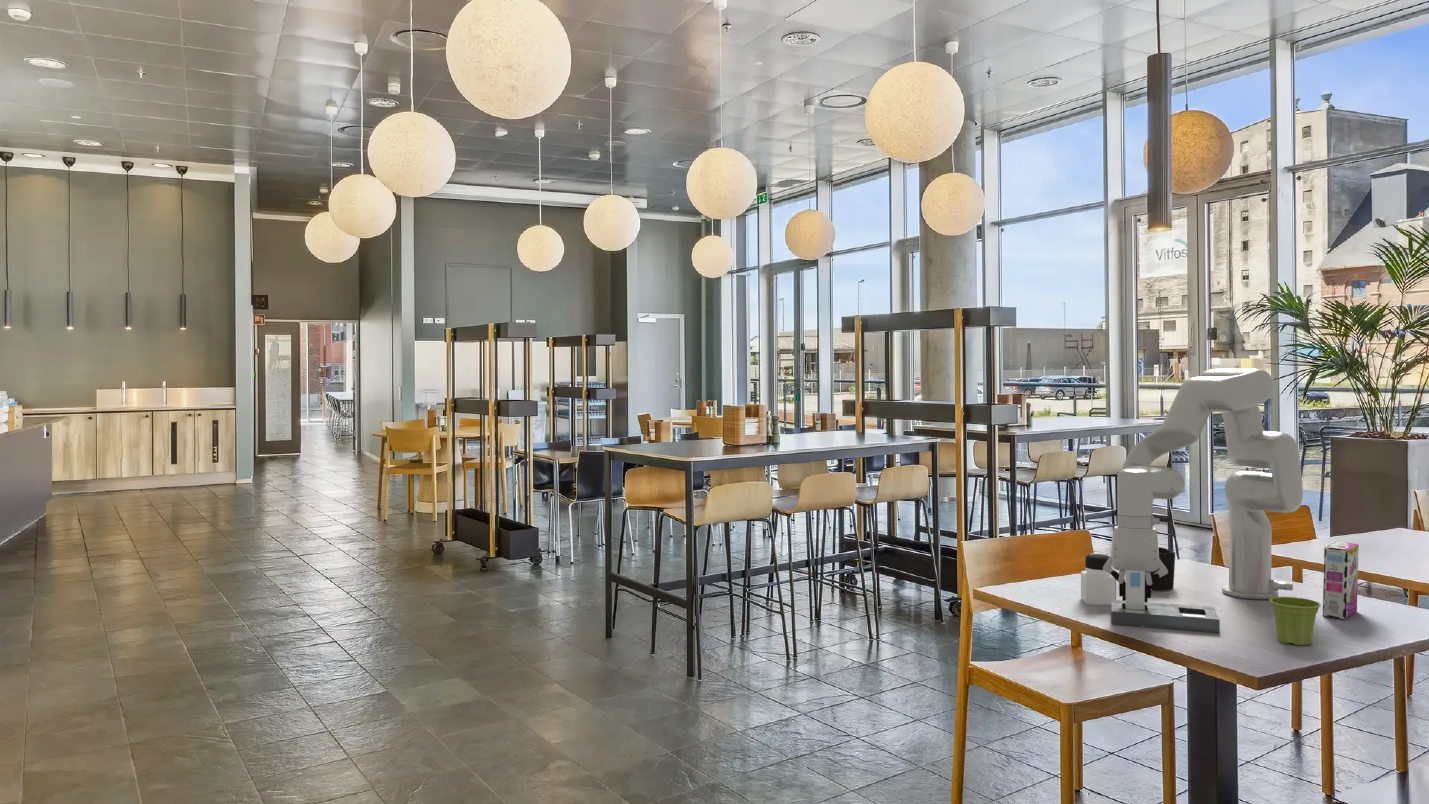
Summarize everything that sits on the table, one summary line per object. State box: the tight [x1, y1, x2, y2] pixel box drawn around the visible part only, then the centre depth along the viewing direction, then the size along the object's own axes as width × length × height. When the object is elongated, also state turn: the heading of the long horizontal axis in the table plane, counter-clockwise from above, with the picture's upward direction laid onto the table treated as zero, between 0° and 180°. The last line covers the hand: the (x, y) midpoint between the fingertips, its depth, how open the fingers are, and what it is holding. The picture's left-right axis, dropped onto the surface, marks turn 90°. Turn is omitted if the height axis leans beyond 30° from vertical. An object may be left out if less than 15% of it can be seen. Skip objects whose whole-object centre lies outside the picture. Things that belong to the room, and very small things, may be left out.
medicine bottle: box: [1080, 553, 1117, 607], centre depth 240 cm, size 7×7×12 cm
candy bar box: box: [1322, 541, 1360, 620], centre depth 225 cm, size 11×5×16 cm, turn 134°
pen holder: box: [1145, 546, 1176, 591], centre depth 255 cm, size 9×9×10 cm
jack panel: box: [1110, 599, 1221, 634], centre depth 221 cm, size 22×12×3 cm, turn 68°
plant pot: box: [1268, 596, 1322, 646], centre depth 204 cm, size 9×9×9 cm
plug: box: [1124, 570, 1145, 610], centre depth 223 cm, size 4×5×11 cm
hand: (1134, 599), depth 223 cm, fingers closed on plug, 4 cm apart
